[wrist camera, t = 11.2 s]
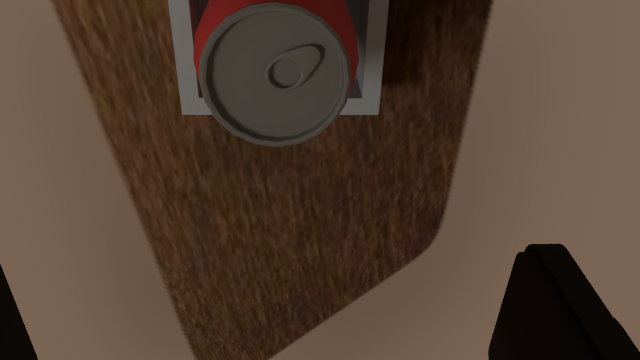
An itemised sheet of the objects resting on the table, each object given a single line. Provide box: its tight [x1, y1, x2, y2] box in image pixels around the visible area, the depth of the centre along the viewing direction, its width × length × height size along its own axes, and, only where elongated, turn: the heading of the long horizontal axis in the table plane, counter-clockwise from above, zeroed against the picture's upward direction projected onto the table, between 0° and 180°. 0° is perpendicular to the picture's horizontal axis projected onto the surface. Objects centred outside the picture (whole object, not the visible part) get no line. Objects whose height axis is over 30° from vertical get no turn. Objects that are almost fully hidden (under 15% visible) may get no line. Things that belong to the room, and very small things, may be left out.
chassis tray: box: [168, 0, 389, 115], centre depth 29 cm, size 11×11×4 cm
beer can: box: [193, 0, 359, 147], centre depth 24 cm, size 7×7×12 cm
